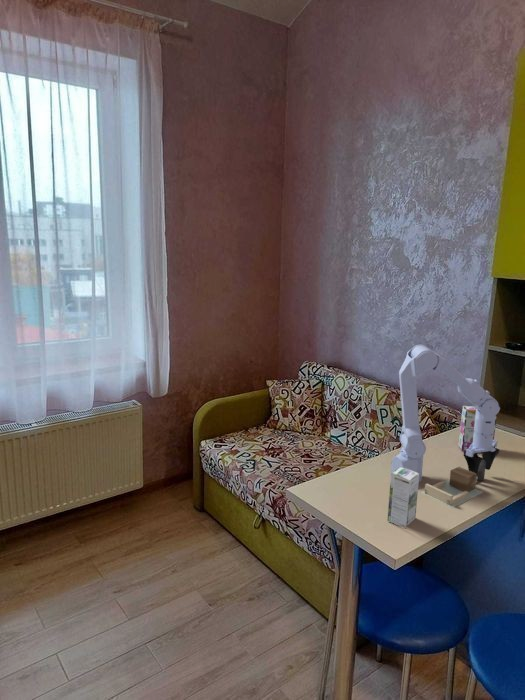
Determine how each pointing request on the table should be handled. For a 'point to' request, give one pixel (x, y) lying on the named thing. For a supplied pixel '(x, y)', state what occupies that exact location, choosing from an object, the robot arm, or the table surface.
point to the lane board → (449, 493)
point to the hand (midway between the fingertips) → (479, 471)
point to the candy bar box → (468, 427)
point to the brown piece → (466, 477)
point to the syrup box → (403, 497)
